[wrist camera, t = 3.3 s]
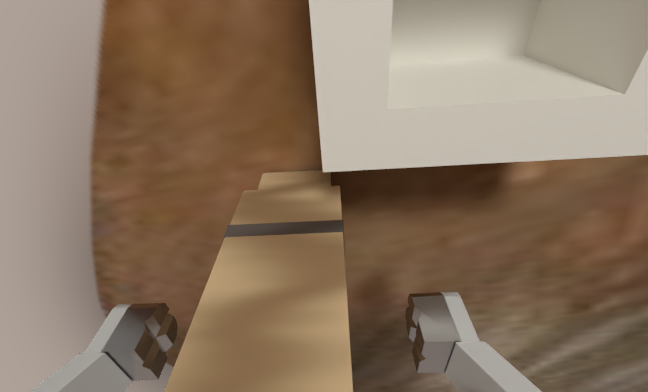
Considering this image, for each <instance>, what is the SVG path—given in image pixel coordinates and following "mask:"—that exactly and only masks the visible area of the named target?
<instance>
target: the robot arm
mask: <svg viewBox="0 0 648 392" xmlns="http://www.w3.org/2000/svg"><path fill="white" fill-rule="evenodd" d="M408 304H409V307H408V308H407V309H406V325H407V331H408V336H409V338H410V339H411V340H412V341H413V342H414V344H413V349H412V353H413V357H414V362H415V366H416V370H417V373H445V375H446V377H447V378H448V379H449V380H450V382H451V383H452V384H453V385H454V387H455V388H456V389H457V390H458V391H459V392H542V391H541V390H539V389H538V388H537V387H536V386H535V385H534V384H533V383H531V382H530V381H529V380H528V379H527V378H526V377H525V376H524V375H522V374H521V373H520V372H519V371H518V370H517V369H516V368H514V367H513V366H512V365H511V364H510V363H509V362H508V361H506V360H505V359H504V358H503V357H502V356H501V355H500V354H499V353H497V352H496V351H495V350H494V349H493V348H492V347H491V346H489V345H488V344H487V343H486V342H485V341H479V338H478V336H477V334H476V331H475V329H474V327H473V324H472V322H471V320H470V317H469V315H468V313H467V310H466V308H465V306H464V303H463V301H462V299H461V296H460V295H459V294H458V293H457V292H443V293H440V292H433V293H414V294H409V296H408ZM168 310H169V308H168V307H167V305H166V304H165V303H148V304H118V305H117V306H115V307H114V308H113V309H112V311H111V312H110V314H109V315H108V317H107V318H106V320H105V321H104V323H103V324H102V326H101V328H100V329H99V330H98V332H97V334H96V335H95V337H94V338H93V340H92V341H91V343H90V344H89V346H88V347H87V349H86V350H85V352H84V353H79V354H78V355H76V356H75V357H74V358H73V359H71V360H70V361H69V362H67V363H66V364H65V365H63V366H62V367H61V368H59V369H58V370H57V371H56V372H55V373H53V374H52V375H50V376H49V377H48V378H47V379H45V380H44V381H43V382H41V383H40V384H39V385H37V386H36V387H35V388H34V389H32V390H31V391H30V392H124V391H125V390H126V389H127V388H128V387H129V386H130V385H131V384H132V381H137V380H155V379H159V377H160V374H161V372H162V369H163V367H164V365H165V362H166V360H167V355H166V351H167V350H168V349H169V348H170V347H171V346H172V345H173V343H174V341H175V338H176V335H177V328H178V327H177V321H176V319H175V318H174V316H172V315H170V314H168V313H167V312H168Z"/></svg>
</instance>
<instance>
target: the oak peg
mask: <svg viewBox="0 0 648 392" xmlns="http://www.w3.org/2000/svg"><path fill="white" fill-rule="evenodd" d="M224 238H225V239H224V241H223V244H222V246H221V249H220V251H219V254H218V257H217V259H216V262H215V264H214V267H213V269H212V272H211V274H210V277H209V279H208V282H207V284H206V287H205V290H204V292H203V295H202V297H201V300H200V302H199V305H198V307H197V310H196V312H195V315H194V317H193V320H192V323H191V325H190V328H189V330H188V333H187V335H186V338H185V340H184V343H183V345H182V348H181V351H180V353H179V356H178V358H177V361H176V363H175V366H174V368H173V371H172V373H171V376H170V379H169V381H168V384H167V386H166V389H165V391H164V392H353V382H352V367H351V351H350V335H349V320H348V304H347V288H346V273H345V250H344V227H343V220H342V210H341V194H340V186H331V173H330V172H323V170H312V171H293V172H275V173H263V175H262V178H261V181H260V184H259V187H258V190H244V191H243V193H242V196H241V198H240V201H239V203H238V206H237V208H236V211H235V213H234V216H233V218H232V221H231V224H230V225H228V228H227V230H226V233H225V235H224Z"/></svg>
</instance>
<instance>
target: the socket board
mask: <svg viewBox="0 0 648 392" xmlns="http://www.w3.org/2000/svg"><path fill="white" fill-rule="evenodd" d="M309 9H310V21H311V34H312V46H313V58H314V70H315V83H316V95H317V107H318V120H319V132H320V144H321V157H322V169H323V172H339V171H357V170H376V169H394V168H413V167H431V166H450V165H468V164H486V163H505V162H523V161H542V160H560V159H579V158H597V157H616V156H634V155H648V0H309Z"/></svg>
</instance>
